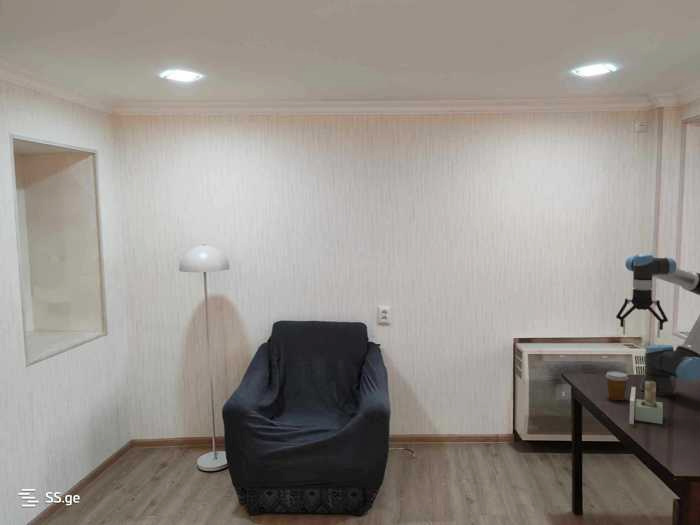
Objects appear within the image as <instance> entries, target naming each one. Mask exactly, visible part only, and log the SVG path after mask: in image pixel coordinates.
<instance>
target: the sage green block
mask: <svg viewBox="0 0 700 525" xmlns="http://www.w3.org/2000/svg"><path fill="white" fill-rule="evenodd" d="M663 406H664V405H663V402H661V401H655V407H649V406H644V399H639V398H635V415H634V421H640V422H647V423H653V424H659V425H663V417H664V416H663V414H664V408H663Z"/></svg>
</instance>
